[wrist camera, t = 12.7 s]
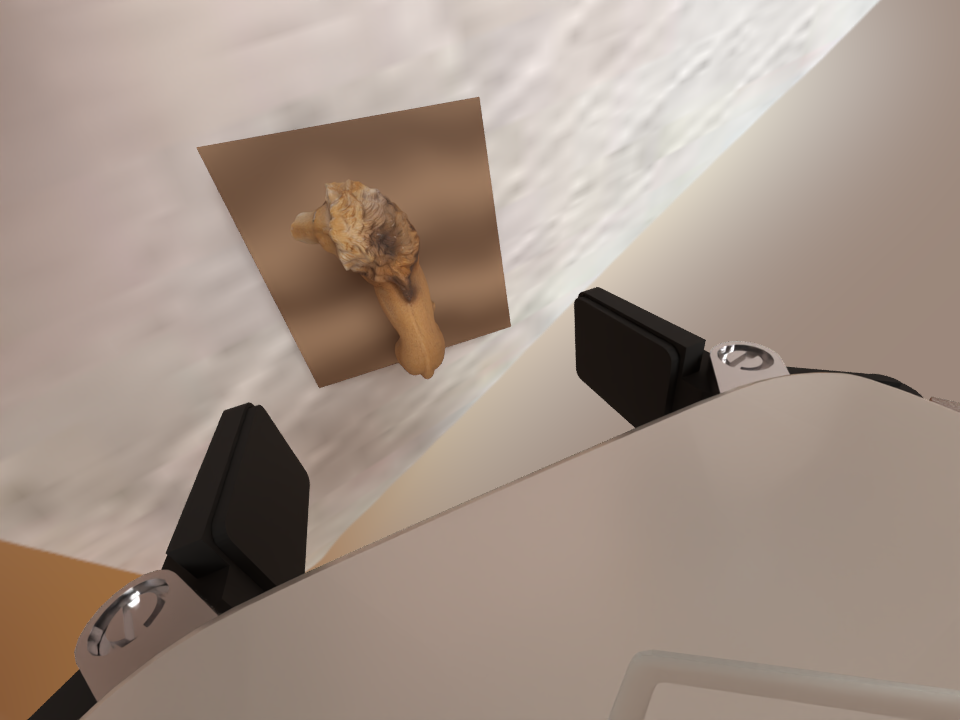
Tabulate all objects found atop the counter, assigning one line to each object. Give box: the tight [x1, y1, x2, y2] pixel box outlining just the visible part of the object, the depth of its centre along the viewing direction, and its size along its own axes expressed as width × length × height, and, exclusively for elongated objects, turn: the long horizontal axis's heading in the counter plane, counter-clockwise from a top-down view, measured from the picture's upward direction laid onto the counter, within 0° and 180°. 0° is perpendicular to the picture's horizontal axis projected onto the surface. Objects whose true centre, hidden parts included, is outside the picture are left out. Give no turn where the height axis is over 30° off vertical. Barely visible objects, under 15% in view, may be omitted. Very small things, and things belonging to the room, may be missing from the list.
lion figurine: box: [291, 179, 445, 379], centre depth 22 cm, size 15×5×9 cm, turn 24°
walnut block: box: [197, 97, 511, 388], centre depth 27 cm, size 16×16×5 cm
